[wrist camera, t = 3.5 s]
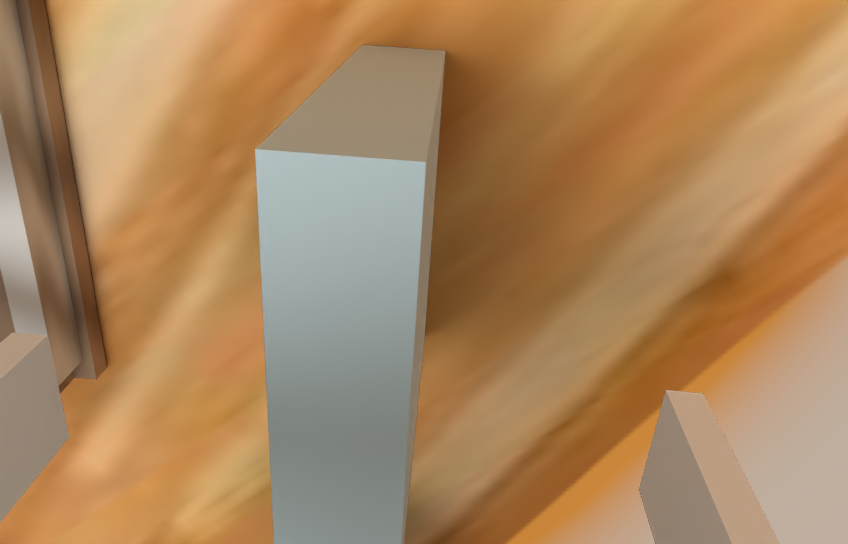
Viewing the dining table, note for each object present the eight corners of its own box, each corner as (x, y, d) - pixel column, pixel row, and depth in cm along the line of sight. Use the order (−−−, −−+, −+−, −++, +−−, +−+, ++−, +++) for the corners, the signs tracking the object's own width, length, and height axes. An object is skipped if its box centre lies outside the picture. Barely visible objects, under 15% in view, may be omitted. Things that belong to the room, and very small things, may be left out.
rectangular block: (424, 335, 30) (395, 624, 17) (356, 330, 30) (277, 613, 17) (445, 50, 24) (426, 162, 12) (362, 44, 24) (255, 148, 12)
